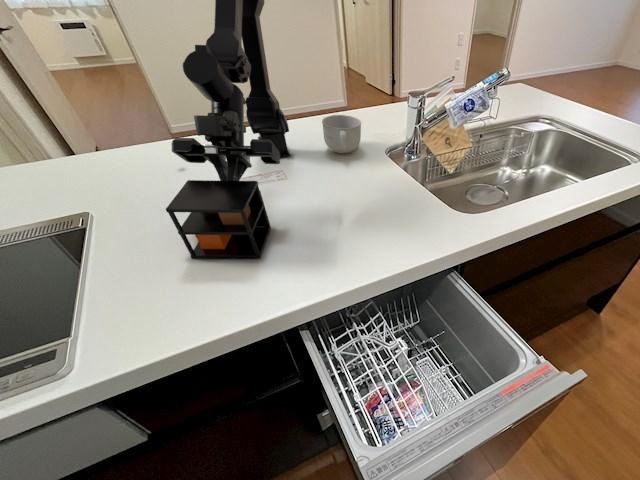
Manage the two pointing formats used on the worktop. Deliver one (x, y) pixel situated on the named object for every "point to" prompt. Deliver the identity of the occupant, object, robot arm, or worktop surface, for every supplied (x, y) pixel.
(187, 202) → the snack rack
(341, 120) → the teacup
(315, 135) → the worktop surface
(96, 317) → the worktop surface
